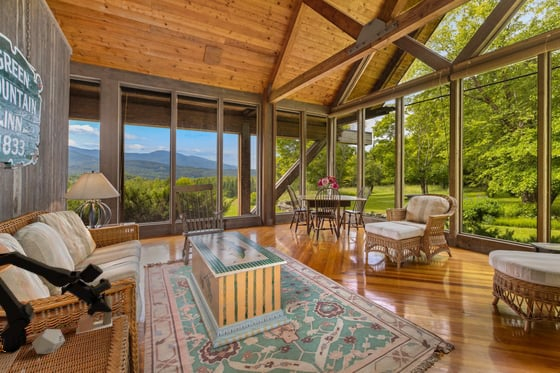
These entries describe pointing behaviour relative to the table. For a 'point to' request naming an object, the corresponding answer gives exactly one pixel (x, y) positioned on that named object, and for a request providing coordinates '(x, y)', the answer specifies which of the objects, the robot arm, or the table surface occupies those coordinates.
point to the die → (48, 341)
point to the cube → (86, 322)
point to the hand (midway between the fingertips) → (111, 309)
